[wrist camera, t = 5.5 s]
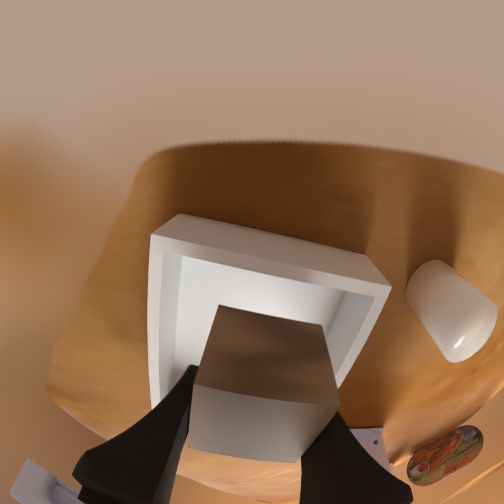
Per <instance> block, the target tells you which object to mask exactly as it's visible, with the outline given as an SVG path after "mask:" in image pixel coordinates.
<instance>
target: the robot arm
mask: <svg viewBox="0 0 504 504" xmlns="http://www.w3.org/2000/svg"><path fill="white" fill-rule="evenodd" d="M198 368H199V366H196V365H192V364H191V365H188V367H187V369H186V371H185V372H184V374H183V375H182V377H181V378H180V379H179V381H178V382H177V383H176V385H175V386H174V387H173V388H172V389H171V391H170V392H169V393H168V394H167V395H166V396H165V397H164V398H163V399H162V400H161V401H160V402H159V404H158V405H157V406H156V407H155V408H153V409H152V410H151V411H150V412H149V413H148V414H147V415H146V416H144V417H143V418H142V419H141V420H139V421H138V422H137V423H135V424H134V425H133V426H131V427H130V428H129V429H127V430H126V431H124V432H123V433H121V434H119V435H117V436H116V437H114V438H112V439H111V440H109V441H107V442H105V443H103V444H101V445H99V446H96V447H94V448H92V449H90V450H88V451H86V452H85V453H84V454H83V456H82V457H81V458H80V459H79V461H78V462H77V464H76V466H75V469H74V471H73V473H72V475H73V477H74V478H75V479H76V480H77V481H78V482H79V483H80V484H81V485H82V489H81V491H80V492H79V491H77V490H75V489H73V488H72V487H70V486H68V485H66V484H64V483H63V482H61V481H59V480H58V479H57V478H56V477H55V476H54V475H53V474H51V473H50V472H49V471H47V470H46V469H44V468H43V467H41V466H39V465H38V464H37V463H35V462H34V461H32V460H31V459H27V461H26V463H25V465H24V467H23V468H22V471H21V472H20V474H19V476H18V478H17V480H16V482H15V484H14V486H13V488H12V490H11V492H10V495H11V496H12V497H14V498H15V499H16V500H17V501H19V502H20V503H21V504H169V501H170V497H171V493H172V488H173V484H174V479H175V475H176V471H177V467H178V463H179V459H180V455H181V452H182V448H183V446H184V443H185V440H186V438H187V435H188V432H189V423H190V413H191V403H192V394H193V385H194V381H195V378H196V375H197V371H198ZM383 431H384V428H363V429H349V428H348V426H347V425H346V423H345V421H344V420H343V418H342V417H341V415H340V413H339V412H338V411H337V412H336V414H335V415H334V416H333V418H332V419H331V420H330V422H329V423H328V424H327V426H326V427H325V428H324V429H323V431H322V432H321V433H320V434H319V436H318V437H317V438H316V439H315V441H314V442H313V443H312V444H311V445H310V446H309V448H308V449H307V450H306V451H305V452H304V453H303V455H302V456H301V467H302V476H301V492H300V503H299V504H410V503H412V502H413V495H412V491H411V488H410V486H409V485H408V484H406V483H404V482H403V481H401V480H399V479H398V478H396V477H395V476H394V475H392V474H391V473H390V464H389V460H388V456H387V452H386V449H385V445H384V442H383V438H382V434H381V433H382V432H383Z"/></svg>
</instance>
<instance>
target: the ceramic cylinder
mask: <svg viewBox="0 0 504 504" xmlns="http://www.w3.org/2000/svg"><path fill="white" fill-rule="evenodd" d="M405 297H406V302H407V304H408V306H409V307H410V309H411V310H412V311H413V313H414V314H415V315H416V317H417V318H418V319H419V321H420V322H421V323H422V325H423V326H424V327H425V329H426V330H427V332H428V333H429V334H430V336H431V337H432V339H433V340H434V341H435V343H436V344H437V346H438V347H439V349H440V350H441V352H442V353H443V355H444V356H445V358H446V359H447V360H448V361H450V362H460V361H463V360H465V359H467V358H469V357H470V356H472V355H473V354H474V353H476V352H477V351H478V350H479V349H480V348H481V347H482V346H483V345H484V343H485V342H486V341H487V339H488V338H489V336H490V335H491V333H492V331H493V329H494V326H495V323H496V320H497V308H496V305H495V304H494V303H493V302H492V301H491V300H490V299H489V298H487V297H486V296H485V295H484V294H483V293H482V292H481V291H480V290H478V289H477V288H476V287H475V286H474V285H472V284H471V283H470V282H469V281H468V280H466V279H465V278H464V277H463V276H462V275H460V274H459V273H458V272H457V271H455V270H454V269H453V268H452V267H450V266H449V265H448V264H446V263H445V262H444V261H442V260H430V261H428V262H425V263H424V264H422V265H421V266H420V267H419V268H417V270H416V271H415V272H414V273H413V274H412V276H411V278H410V279H409V282H408V284H407V287H406V293H405Z"/></svg>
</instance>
